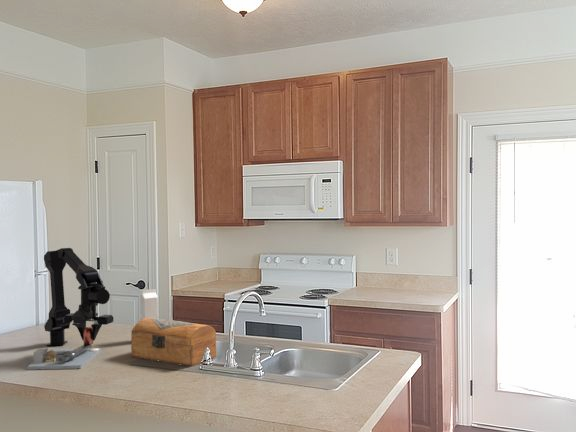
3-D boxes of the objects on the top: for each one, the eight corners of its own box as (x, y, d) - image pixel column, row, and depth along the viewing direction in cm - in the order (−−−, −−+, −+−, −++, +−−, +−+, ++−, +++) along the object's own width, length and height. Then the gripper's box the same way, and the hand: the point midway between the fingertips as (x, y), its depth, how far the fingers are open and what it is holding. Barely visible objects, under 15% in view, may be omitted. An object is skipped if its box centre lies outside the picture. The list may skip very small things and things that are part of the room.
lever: (55, 360, 203) (55, 339, 203) (84, 345, 224) (84, 326, 224) (68, 361, 202) (67, 340, 202) (95, 346, 224) (95, 326, 224)
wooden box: (128, 357, 215) (127, 322, 215) (159, 348, 229) (158, 314, 229) (188, 368, 200) (187, 330, 199) (217, 357, 214) (216, 321, 214)
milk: (140, 339, 243) (139, 289, 243) (154, 337, 246) (153, 288, 246) (145, 342, 238) (143, 291, 238) (159, 340, 241) (157, 289, 241)
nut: (48, 358, 209) (48, 349, 209) (57, 358, 209) (57, 349, 209) (44, 361, 205) (44, 351, 205) (54, 361, 205) (54, 351, 205)
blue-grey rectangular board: (52, 352, 224) (52, 339, 224) (101, 351, 225) (100, 338, 225) (27, 369, 200) (26, 355, 200) (81, 368, 201) (81, 354, 201)
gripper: (55, 304, 216) (55, 344, 216) (100, 305, 212) (100, 346, 213) (71, 299, 226) (71, 337, 227) (114, 300, 223) (114, 339, 224)
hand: (88, 340), depth 222 cm, fingers open, 4 cm apart
